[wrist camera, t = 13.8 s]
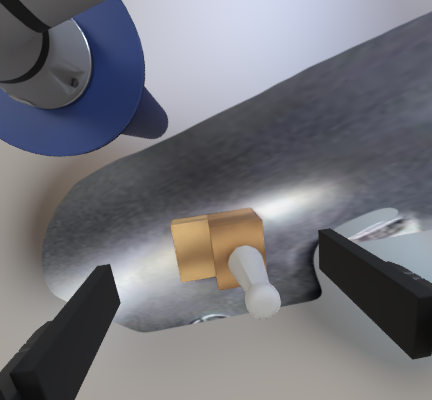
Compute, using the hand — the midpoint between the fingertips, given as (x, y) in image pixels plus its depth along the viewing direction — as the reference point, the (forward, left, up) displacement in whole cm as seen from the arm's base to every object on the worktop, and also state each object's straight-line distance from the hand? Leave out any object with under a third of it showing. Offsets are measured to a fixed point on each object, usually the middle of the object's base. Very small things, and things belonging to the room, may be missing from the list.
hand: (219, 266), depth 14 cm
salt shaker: (+12, +5, -23) cm, 26 cm away
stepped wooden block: (+12, +1, -31) cm, 33 cm away
